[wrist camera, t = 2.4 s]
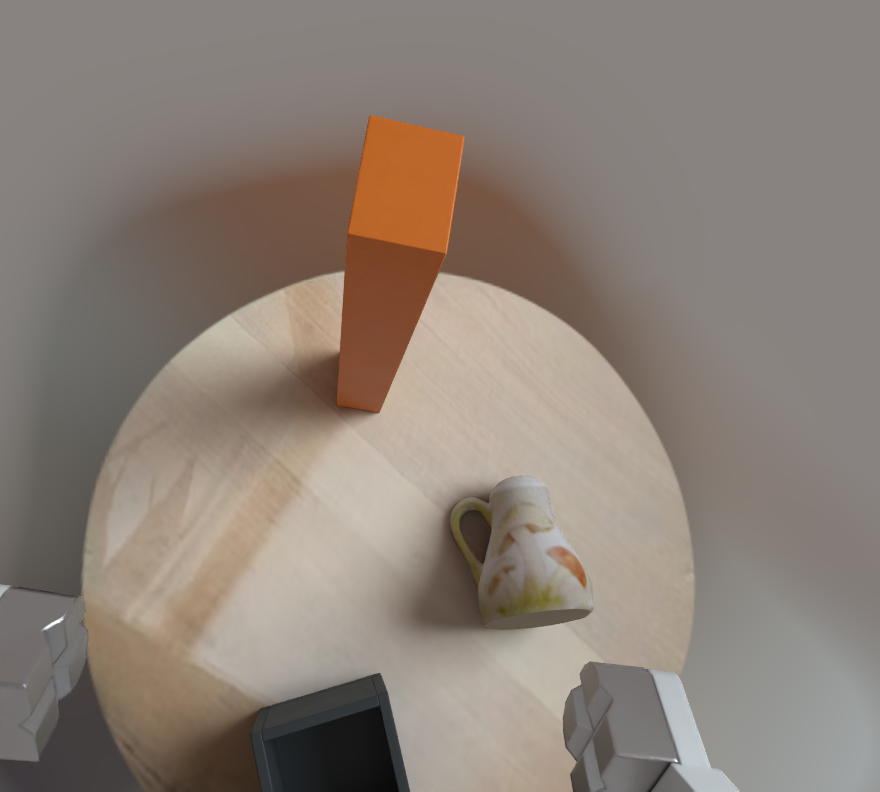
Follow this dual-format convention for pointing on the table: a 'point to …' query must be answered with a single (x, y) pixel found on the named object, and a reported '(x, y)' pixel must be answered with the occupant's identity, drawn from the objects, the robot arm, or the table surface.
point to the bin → (330, 742)
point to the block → (393, 251)
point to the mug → (524, 560)
